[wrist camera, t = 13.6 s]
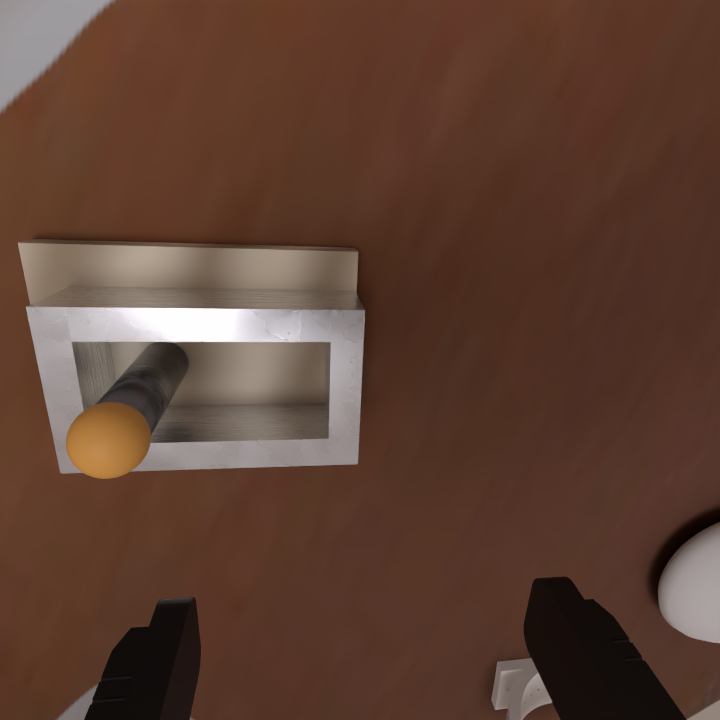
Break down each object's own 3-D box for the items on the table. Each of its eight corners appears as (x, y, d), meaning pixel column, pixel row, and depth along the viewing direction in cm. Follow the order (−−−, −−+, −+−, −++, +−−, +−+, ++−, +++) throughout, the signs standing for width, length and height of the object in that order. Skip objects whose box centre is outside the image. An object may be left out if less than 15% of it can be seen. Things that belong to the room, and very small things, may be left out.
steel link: (355, 290, 25) (365, 310, 21) (349, 425, 28) (357, 464, 24) (69, 286, 23) (26, 306, 20) (94, 431, 26) (60, 473, 22)
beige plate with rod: (354, 247, 26) (392, 293, 16) (347, 442, 30) (372, 577, 20) (34, 238, 24) (-161, 285, 14) (74, 449, 28) (-52, 603, 18)
